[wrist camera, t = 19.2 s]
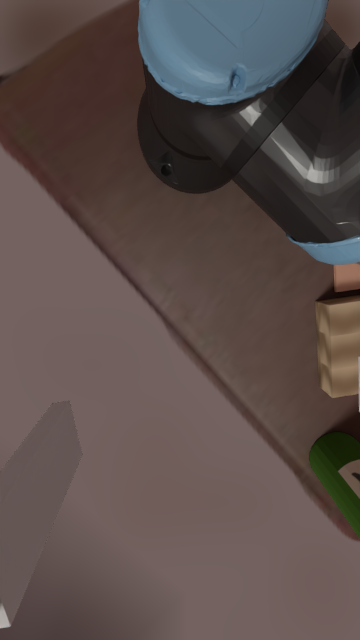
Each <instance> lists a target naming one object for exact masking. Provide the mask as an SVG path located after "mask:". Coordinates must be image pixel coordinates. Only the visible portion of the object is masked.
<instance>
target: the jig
mask: <svg viewBox="0 0 360 640" xmlns="http://www.w3.org/2000/svg"><path fill="white" fill-rule="evenodd" d="M315 305H316V327H317V349H318V371H319V387H321V388H322V389H323V390H324V391H325V392H326V393H328V394H329V395H330V396H331V397H332V398H334V397H341V396H347V395H354V394H359V367H358V356H360V295H354V296H347V297H340V298H333V299H327V300H320V301H315Z"/></svg>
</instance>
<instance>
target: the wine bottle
mask: <svg viewBox="0 0 360 640" xmlns="http://www.w3.org/2000/svg"><path fill="white" fill-rule="evenodd" d="M309 461H310V465H311V468H312V469H313V471H314V473H315V474H316V475H317V477H318V478H319V480H320V481H321V483H322V484H323V486H324V487H325V489H326V490H327V492H328V493H329V494H330V496H331V497H332V499H333V500H334V502H335V503H336V505H337V506H338V508H339V509H340V511H341V512H342V513H343V515H344V516H345V518H346V519H347V521H348V522H349V524H350V525H351V527H352V528H353V529H354V531H355V532H356V534H357V535H358V537H359V538H360V443H359V442H358V441H357V440H356V439H355V438H354V437H352V436H350V435H348V434H346V433H341V432H332V433H329V434H326V435H324V436H322V437H320V438H319V439H318V440H317V441H316V442H315V443H314V445H313V446H312V448H311V451H310V454H309Z"/></svg>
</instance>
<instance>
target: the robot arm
mask: <svg viewBox="0 0 360 640" xmlns="http://www.w3.org/2000/svg"><path fill="white" fill-rule="evenodd" d="M327 5H328V0H139V12H140V15H139V23H138V31H139V39H138V40H139V47H140V52H141V55H142V61H143V68H144V75H145V82H146V89H145V91H144V93H143V96H142V98H141V102H140V105H139V110H138V119H137V129H138V137H139V142H140V146H141V150H142V153H143V156H144V158H145V160H146V162H147V164H148V166H149V167H150V169H151V170H152V171H153V173H154V174H155V175H156V176H157V177H158V178H159V179H160V180H161V181H163V182H164V183H165V184H167V185H168V186H170V187H172V188H174V189H176V190H179V191H182V192H186V193H206V192H210V191H213V190H216V189H218V188H220V187H222V186H224V185H225V184H227V183H228V182H229V181H230V180H231V179H232V180H233V181H234V182H235V183H236V184H237V185H238V186H239V187H240V188H241V189H242V190H243V191H244V192H245V193H246V194H247V195H248V196H249V197H250V198H251V199H252V200H253V201H254V202H255V203H256V204H257V205H258V206H259V207H260V208H261V209H262V210H263V211H264V212H265V213H266V214H267V215H268V216H269V217H270V218H271V219H273V220H274V221H275V222H276V223H277V224H278V225H279V226H280V227H281V228H282V229H283V230H284V231H285V232H286V236H287V237H288V238H289V239H290V240H291V241H292V242H293V243H296V244H298V245H300V246H301V247H302V248H303V249H304V250H305V251H306V252H308V253H309V254H310V255H311V256H312V257H313V258H315V259H316V260H318V261H320V262H325V263H327V264H332V265H345V264H352V263H357V262H360V42H359V43H358V44H357V46H356V47H355V48H354V49H352V50H350V49H349V48H348V47H347V46H346V45H345V43H344V42H343V41H342V40H341V38H340V37H339V36H338V35H337V34H336V32H335V31H334V30H333V29H332V28H331V26H330V25H329V24H328V22H327V21H326V20H325V19H324V17H325V16H326V9H327ZM344 45H345V46H344ZM341 49H342V50H341ZM340 50H341V51H340ZM248 159H249V160H248ZM358 367H359V412H360V356H358ZM81 457H82V451H81V446H80V442H79V438H78V433H77V429H76V425H75V421H74V417H73V413H72V409H71V404H70V401H63V402H57V403H52V404H51V406H50V407H49V408H48V410H47V411H46V412H45V414H44V415H43V416H42V417H41V419H40V420H39V421H38V423H37V424H36V425H35V427H34V428H33V429H32V430H31V432H30V433H29V434H28V436H27V437H26V438H25V439H24V441H23V442H22V444H21V445H20V446H19V447H18V449H17V450H16V451H15V452H14V454H13V455H12V456H11V458H10V459H9V460H8V462H7V463H6V464H5V466H4V467H3V468H2V470H1V471H0V628H4V627H11V624H12V622H13V619H14V617H15V615H16V612H17V610H18V607H19V605H20V603H21V600H22V598H23V595H24V593H25V591H26V588H27V586H28V584H29V581H30V579H31V576H32V574H33V571H34V569H35V567H36V564H37V562H38V560H39V557H40V555H41V552H42V550H43V548H44V545H45V543H46V541H47V538H48V536H49V533H50V531H51V529H52V526H53V524H54V521H55V519H56V517H57V514H58V512H59V509H60V507H61V505H62V502H63V500H64V497H65V495H66V493H67V490H68V488H69V485H70V483H71V481H72V478H73V476H74V473H75V471H76V469H77V466H78V464H79V461H80V459H81Z"/></svg>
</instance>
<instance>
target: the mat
mask: <svg viewBox="0 0 360 640" xmlns="http://www.w3.org/2000/svg"><path fill="white" fill-rule="evenodd" d="M355 289H360V265H358V264H356V263H352V264H345V265H334V290H335V292H342V291H349V290H355Z"/></svg>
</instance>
